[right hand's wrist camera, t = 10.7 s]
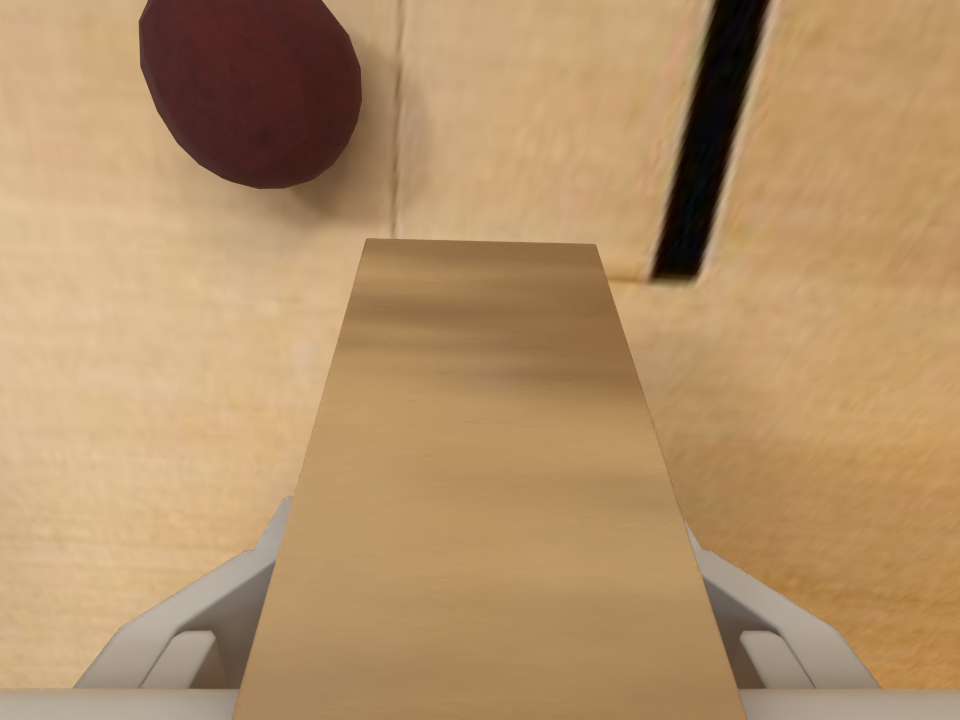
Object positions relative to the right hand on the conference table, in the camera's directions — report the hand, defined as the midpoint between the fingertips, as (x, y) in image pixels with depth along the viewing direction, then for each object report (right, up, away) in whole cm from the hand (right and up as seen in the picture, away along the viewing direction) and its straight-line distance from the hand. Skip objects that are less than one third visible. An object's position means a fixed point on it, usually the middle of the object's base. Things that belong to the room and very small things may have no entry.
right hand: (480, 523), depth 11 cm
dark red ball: (-8, +15, +12) cm, 21 cm away
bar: (0, -3, +8) cm, 9 cm away
